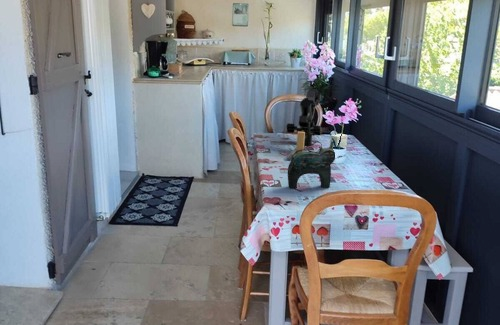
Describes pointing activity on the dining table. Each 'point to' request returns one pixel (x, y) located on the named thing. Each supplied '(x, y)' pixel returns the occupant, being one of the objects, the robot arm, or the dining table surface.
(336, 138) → the ink box
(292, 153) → the switch housing
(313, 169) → the dark green animal figurine
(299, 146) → the switch tab
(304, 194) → the dining table surface
